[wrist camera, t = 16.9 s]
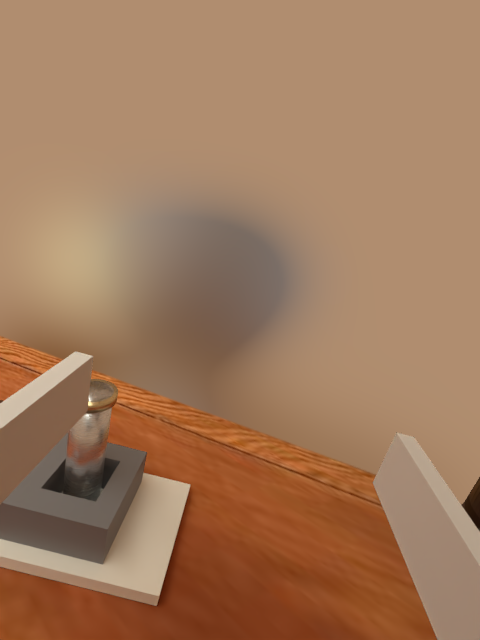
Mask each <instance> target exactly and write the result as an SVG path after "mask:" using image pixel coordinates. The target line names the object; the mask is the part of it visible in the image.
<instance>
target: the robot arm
mask: <svg viewBox="0 0 480 640" xmlns="http://www.w3.org/2000/svg"><path fill="white" fill-rule="evenodd" d="M92 363H93V356H91V355H87V354H83V353H79V352H74V353H73V354H71V355H70V356H68V357H67V358H65V359H64V360H63V361H61V362H60V363H58V364H57V365H55V366H54V367H52V368H51V369H50V370H48V371H47V372H45V373H44V374H42V375H41V376H39V377H38V378H36V379H35V380H34V381H32V382H31V383H29V384H28V385H26V386H25V387H23V388H22V389H20V390H19V391H18V392H16V393H15V394H13V395H12V396H10V397H9V398H7V399H6V400H5V401H3V402H2V403H0V504H1V503H2V502H3V501H4V500H5V499H6V498H7V497H8V496H9V495H10V493H11V492H12V491H13V490H14V489H15V488H16V487H17V486H18V485H19V484H20V483H21V482H22V481H23V480H24V478H25V477H26V476H27V475H28V474H29V473H30V472H31V471H32V470H33V469H34V468H35V467H36V466H37V465H38V463H39V462H40V461H41V460H42V459H43V458H44V457H45V456H46V455H47V454H48V453H49V452H50V451H51V450H52V448H53V447H54V446H55V445H56V444H57V443H58V442H59V441H60V440H61V439H62V438H63V437H64V436H65V435H66V433H67V432H68V431H69V430H70V429H71V428H72V427H73V426H74V425H75V424H76V423H77V422H78V421H79V420H80V418H81V417H82V416H83V415H84V414H85V413H86V412H87V411H88V401H89V392H90V382H91V373H92ZM373 485H374V487H375V490H376V492H377V494H378V497H379V499H380V502H381V504H382V506H383V509H384V511H385V514H386V516H387V519H388V521H389V523H390V526H391V528H392V531H393V533H394V536H395V538H396V540H397V543H398V545H399V548H400V550H401V552H402V555H403V557H404V560H405V562H406V565H407V567H408V569H409V572H410V574H411V577H412V579H413V582H414V584H415V586H416V589H417V591H418V594H419V596H420V598H421V601H422V603H423V606H424V608H425V611H426V613H427V615H428V618H429V620H430V623H431V625H432V628H433V630H434V632H435V635H436V637H437V640H480V477H479V479H478V481H477V482H476V484H475V485H474V487H473V489H472V490H471V492H470V494H469V495H468V497H467V499H466V500H465V502H464V503H463V504H462V505H461V504H460V503H459V501H458V500H457V498H456V497H455V495H454V494H453V492H452V491H451V490H450V488H449V487H448V485H447V484H446V482H445V481H444V479H443V478H442V477H441V475H440V474H439V472H438V471H437V469H436V468H435V466H434V465H433V464H432V462H431V461H430V459H429V458H428V456H427V455H426V453H425V452H424V451H423V449H422V448H421V446H420V445H419V444H418V442H417V441H416V439H415V438H414V437H412V436H408V435H404V434H401V433H396V434H395V436H394V439H393V441H392V443H391V445H390V447H389V449H388V451H387V454H386V456H385V458H384V460H383V462H382V464H381V466H380V469H379V471H378V473H377V475H376V477H375V479H374V481H373Z"/></svg>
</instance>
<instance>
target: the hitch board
mask: <svg viewBox="0 0 480 640" xmlns="http://www.w3.org/2000/svg"><path fill="white" fill-rule="evenodd" d="M67 442H68V432H67V433H66V435H65V436H64V437H63V438H62V439H61V440H60V441H59V442H58V443H57V444H56V445H55V446H54V447H53V448H52V450H51V451H50V452H49V453H48V454H47V455H46V456H45V457H44V458H43V459H42V460H41V461H40V462H39V463H38V465H37V466H36V467H35V468H34V469H33V470H32V471H31V472H30V473H29V474H28V475H27V476H26V477H25V478H24V480H23V481H22V482H21V483H20V484H19V485H18V486H17V487H16V488H15V489H14V490H13V491H12V492H11V493H10V495H9V496H8V497H7V498H6V499H5V500H4V501H3V502H2V503H1V504H0V567H3V568H7V569H11V570H15V571H19V572H23V573H27V574H31V575H35V576H39V577H43V578H47V579H51V580H55V581H59V582H63V583H67V584H71V585H75V586H79V587H83V588H87V589H91V590H95V591H99V592H103V593H107V594H111V595H114V596H118V597H122V598H126V599H130V600H134V601H138V602H142V603H146V604H150V605H154V606H157V603H158V600H159V596H160V593H161V589H162V586H163V582H164V579H165V575H166V571H167V568H168V564H169V561H170V557H171V554H172V550H173V546H174V543H175V539H176V536H177V532H178V529H179V525H180V521H181V518H182V514H183V511H184V507H185V504H186V500H187V496H188V493H189V489H190V484H186V483H182V482H178V481H174V480H170V479H166V478H162V477H158V476H154V475H150V474H146V473H143V472H144V466H145V461H146V455H147V452H144V451H140V450H136V449H132V448H128V447H124V446H120V445H116V444H112V443H108V442H107V447H106V455H105V462H104V470H103V477H102V485H101V492H100V496H99V498H98V499H97V501H96V502H94V501H90V500H86V499H82V498H78V497H74V496H70V495H66V494H63V487H64V476H65V464H66V453H67Z"/></svg>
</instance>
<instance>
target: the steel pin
mask: <svg viewBox="0 0 480 640" xmlns="http://www.w3.org/2000/svg"><path fill="white" fill-rule="evenodd" d="M117 395H118V389H117V387H116V386H115V385H114V384H112V383H111V382H108V381H105V380H100V379H91V382H90V392H89V401H88V411H87V412H86V413H85V414H84V415H83V416H82V417H81V418H80V420H79V421H78V422H77V423H76V424H75V425H74V426H73V427H72V428H71V429H70V430H69V431H68V442H67V453H66V464H65V476H64V487H63V494H66V495H70V496H74V497H78V498H82V499H86V500H90V501H94V502H96V501H97V499H98V498H99V496H100V492H101V485H102V477H103V470H104V462H105V455H106V447H107V440H108V432H109V425H110V417H111V410H112V407H113V406H114V405H115V403H116V401H117Z"/></svg>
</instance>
